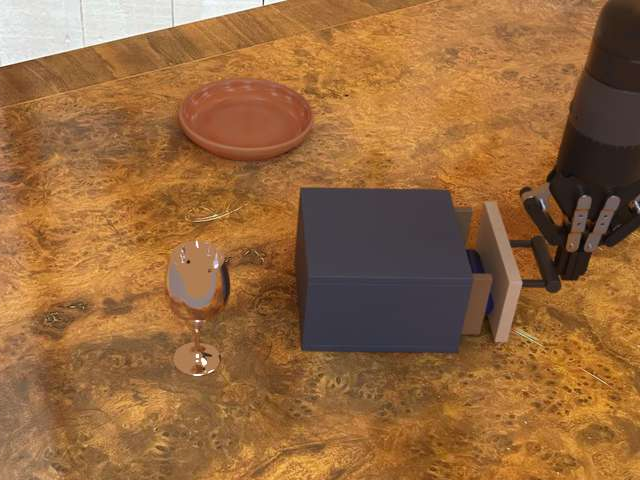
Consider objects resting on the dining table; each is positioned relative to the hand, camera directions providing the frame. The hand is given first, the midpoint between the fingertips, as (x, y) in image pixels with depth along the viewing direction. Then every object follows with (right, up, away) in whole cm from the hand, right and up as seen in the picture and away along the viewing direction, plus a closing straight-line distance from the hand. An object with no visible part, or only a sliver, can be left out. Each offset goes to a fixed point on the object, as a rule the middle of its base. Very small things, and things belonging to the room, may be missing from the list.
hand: (567, 275), depth 102 cm
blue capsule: (-10, -1, +1) cm, 10 cm away
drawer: (-11, -2, +2) cm, 11 cm away
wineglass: (-35, -8, -4) cm, 36 cm away
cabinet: (-18, -3, +2) cm, 19 cm away
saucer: (-31, +18, +26) cm, 44 cm away
